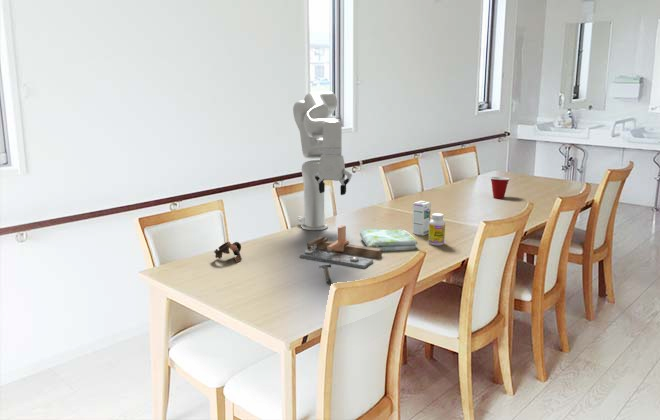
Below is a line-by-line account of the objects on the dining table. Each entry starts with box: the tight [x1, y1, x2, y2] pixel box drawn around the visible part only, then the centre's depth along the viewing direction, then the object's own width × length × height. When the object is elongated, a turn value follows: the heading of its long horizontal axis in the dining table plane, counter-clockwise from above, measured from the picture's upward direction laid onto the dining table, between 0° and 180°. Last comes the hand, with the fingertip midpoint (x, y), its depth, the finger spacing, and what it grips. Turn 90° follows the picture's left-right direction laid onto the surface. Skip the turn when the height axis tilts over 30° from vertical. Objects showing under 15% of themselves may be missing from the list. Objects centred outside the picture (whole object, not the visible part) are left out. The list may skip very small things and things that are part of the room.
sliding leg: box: [326, 224, 350, 253], centre depth 232 cm, size 4×14×10 cm, turn 152°
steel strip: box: [299, 248, 374, 269], centre depth 226 cm, size 28×8×2 cm, turn 62°
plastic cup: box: [490, 176, 510, 200], centre depth 332 cm, size 11×11×12 cm
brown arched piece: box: [213, 241, 242, 263], centre depth 227 cm, size 12×10×8 cm
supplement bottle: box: [428, 212, 446, 246], centre depth 245 cm, size 7×7×13 cm
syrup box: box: [412, 200, 431, 236], centre depth 260 cm, size 6×6×14 cm
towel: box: [359, 228, 419, 252], centre depth 246 cm, size 18×21×5 cm
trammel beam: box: [306, 236, 383, 259], centre depth 231 cm, size 28×14×5 cm, turn 62°
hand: (332, 193), depth 236 cm, fingers open, 9 cm apart
